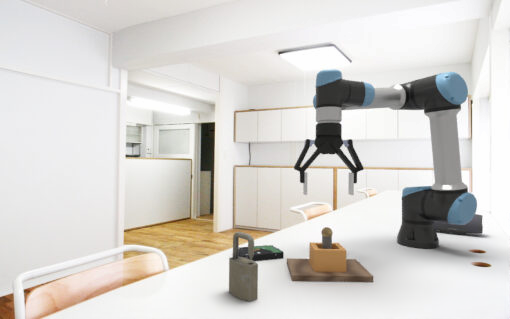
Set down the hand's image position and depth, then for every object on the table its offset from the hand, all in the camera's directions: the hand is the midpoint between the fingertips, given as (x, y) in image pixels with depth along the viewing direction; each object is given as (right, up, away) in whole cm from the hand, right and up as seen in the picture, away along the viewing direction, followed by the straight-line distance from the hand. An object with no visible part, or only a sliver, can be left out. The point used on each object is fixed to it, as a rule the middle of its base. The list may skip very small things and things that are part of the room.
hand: (328, 194), depth 100 cm
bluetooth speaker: (+71, -24, +57) cm, 94 cm away
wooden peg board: (-1, -23, -1) cm, 23 cm away
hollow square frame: (0, -21, -1) cm, 21 cm away
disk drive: (-21, -23, +15) cm, 35 cm away
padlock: (-25, -23, -19) cm, 38 cm away
